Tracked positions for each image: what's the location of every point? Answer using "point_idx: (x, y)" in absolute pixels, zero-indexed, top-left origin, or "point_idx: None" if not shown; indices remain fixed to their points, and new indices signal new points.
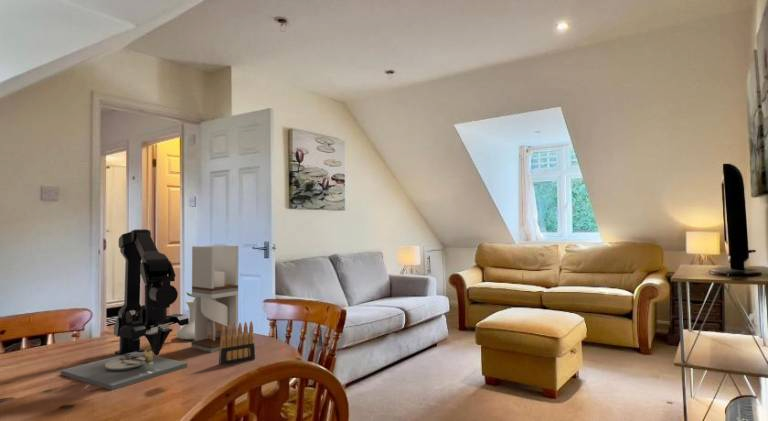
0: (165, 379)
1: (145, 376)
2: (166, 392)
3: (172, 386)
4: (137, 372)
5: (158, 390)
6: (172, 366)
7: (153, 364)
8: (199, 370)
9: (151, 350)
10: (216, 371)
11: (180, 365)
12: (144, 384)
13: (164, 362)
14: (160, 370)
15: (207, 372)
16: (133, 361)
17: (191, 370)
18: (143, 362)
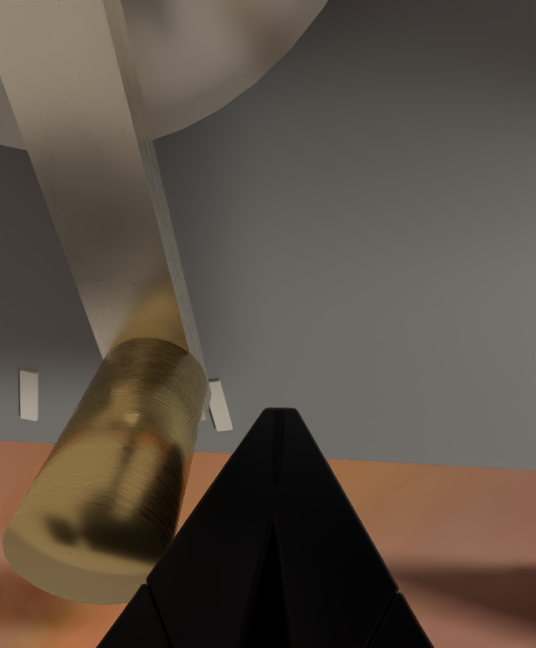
0: (181, 513)
1: (57, 437)
2: (54, 642)
3: None
4: (39, 298)
5: (37, 603)
6: (379, 439)
7: (361, 175)
8: (454, 557)
9: (113, 582)
10: (466, 635)
11: (448, 460)
12: (20, 479)
13: (492, 237)
14: (228, 439)
15: (429, 612)
16: (15, 97)
17: (435, 518)
18: (96, 330)
